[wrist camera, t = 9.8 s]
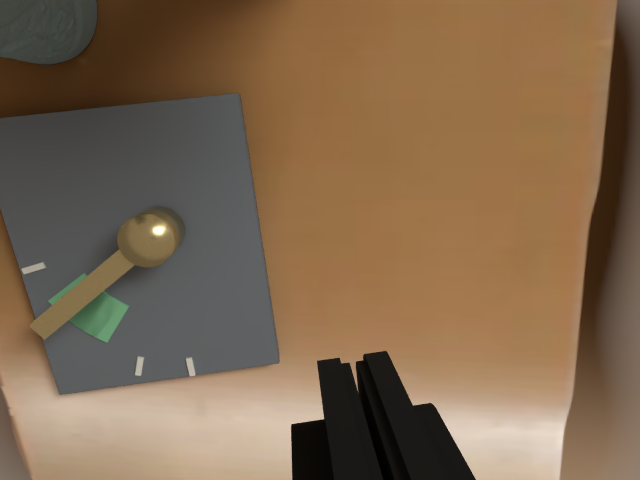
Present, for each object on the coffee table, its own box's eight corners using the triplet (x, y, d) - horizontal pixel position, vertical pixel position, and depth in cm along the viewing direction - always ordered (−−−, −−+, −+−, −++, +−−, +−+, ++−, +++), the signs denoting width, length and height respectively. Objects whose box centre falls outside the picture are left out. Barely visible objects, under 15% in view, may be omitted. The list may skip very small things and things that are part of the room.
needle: (161, 196, 33) (145, 204, 29) (195, 233, 34) (184, 245, 30) (42, 296, 34) (13, 316, 30) (78, 329, 35) (54, 352, 31)
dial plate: (-14, 121, 32) (-30, 120, 30) (240, 94, 33) (237, 92, 31) (68, 384, 38) (58, 396, 36) (279, 354, 39) (279, 364, 37)
